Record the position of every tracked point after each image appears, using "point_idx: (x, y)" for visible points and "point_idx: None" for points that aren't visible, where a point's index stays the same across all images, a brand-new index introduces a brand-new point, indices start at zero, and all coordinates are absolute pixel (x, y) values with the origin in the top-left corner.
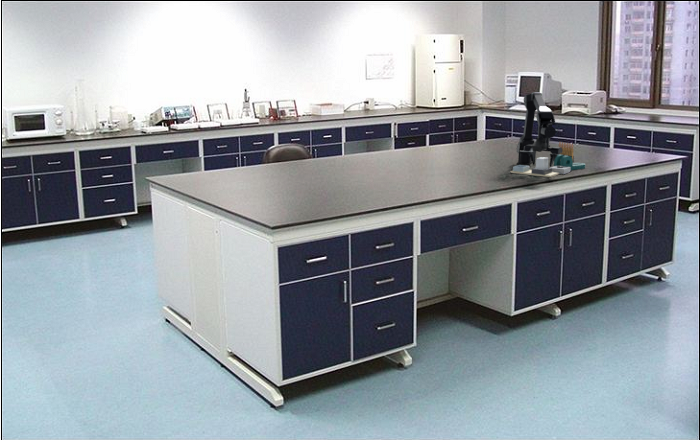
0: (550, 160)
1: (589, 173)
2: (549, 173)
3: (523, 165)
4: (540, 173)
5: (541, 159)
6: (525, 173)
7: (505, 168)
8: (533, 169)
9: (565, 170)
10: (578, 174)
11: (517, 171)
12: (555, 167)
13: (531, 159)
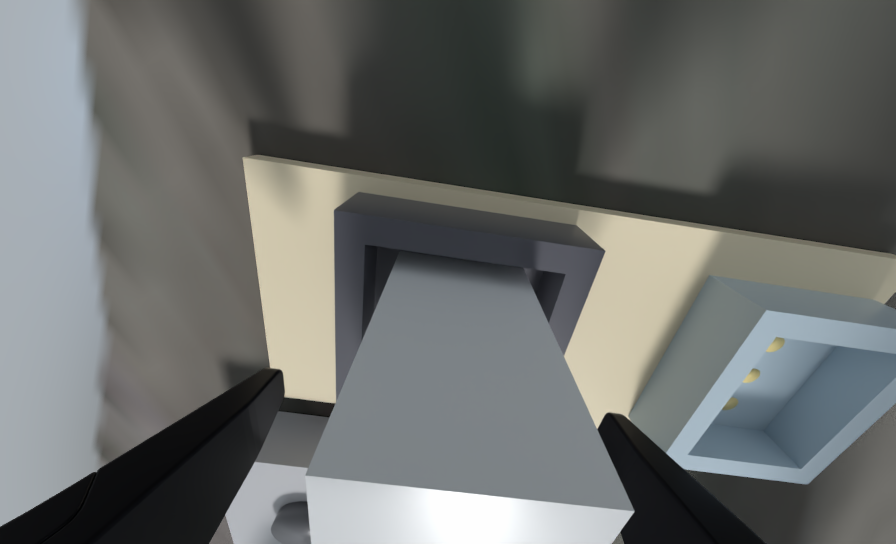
0: (138, 482)
1: None
2: None
3: (748, 465)
4: (423, 206)
5: (402, 465)
6: (668, 220)
7: (891, 457)
8: (566, 243)
9: None
10: (137, 440)
11: (803, 276)
12: None
13: (741, 524)
